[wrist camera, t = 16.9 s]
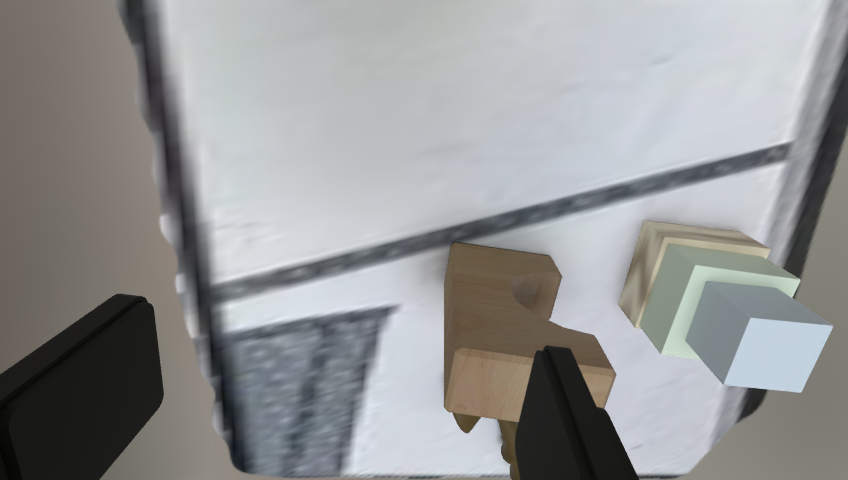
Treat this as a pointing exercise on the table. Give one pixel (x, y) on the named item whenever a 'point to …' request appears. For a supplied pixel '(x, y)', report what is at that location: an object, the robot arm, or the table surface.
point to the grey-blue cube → (756, 336)
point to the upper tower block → (699, 290)
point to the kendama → (507, 432)
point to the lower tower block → (653, 251)
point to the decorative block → (506, 331)
